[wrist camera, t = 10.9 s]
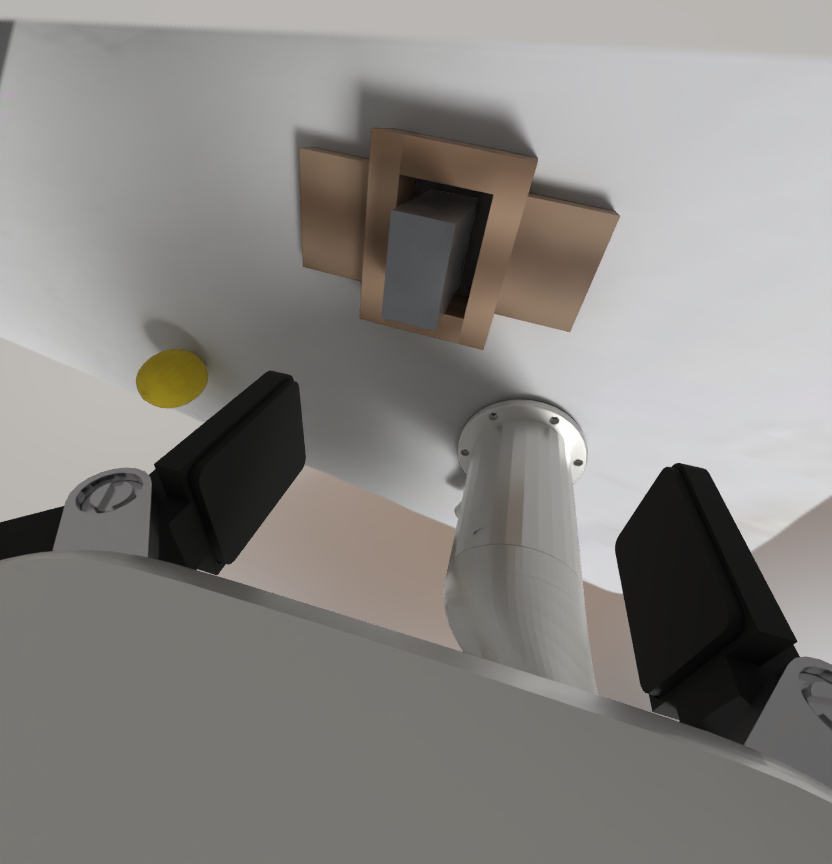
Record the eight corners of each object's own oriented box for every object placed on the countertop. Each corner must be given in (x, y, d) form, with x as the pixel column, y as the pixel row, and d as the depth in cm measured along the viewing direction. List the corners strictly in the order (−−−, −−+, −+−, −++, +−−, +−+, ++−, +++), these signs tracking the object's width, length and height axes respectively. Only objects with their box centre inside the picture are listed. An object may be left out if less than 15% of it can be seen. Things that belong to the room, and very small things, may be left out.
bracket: (460, 283, 32) (435, 331, 24) (419, 273, 32) (381, 317, 24) (478, 198, 28) (455, 223, 20) (431, 188, 28) (391, 209, 21)
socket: (559, 344, 33) (561, 369, 29) (314, 283, 35) (289, 300, 31) (630, 176, 25) (644, 183, 22) (311, 112, 27) (278, 108, 24)
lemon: (167, 347, 44) (106, 382, 37) (198, 330, 41) (138, 365, 35) (201, 388, 46) (149, 427, 40) (232, 374, 44) (181, 414, 37)
